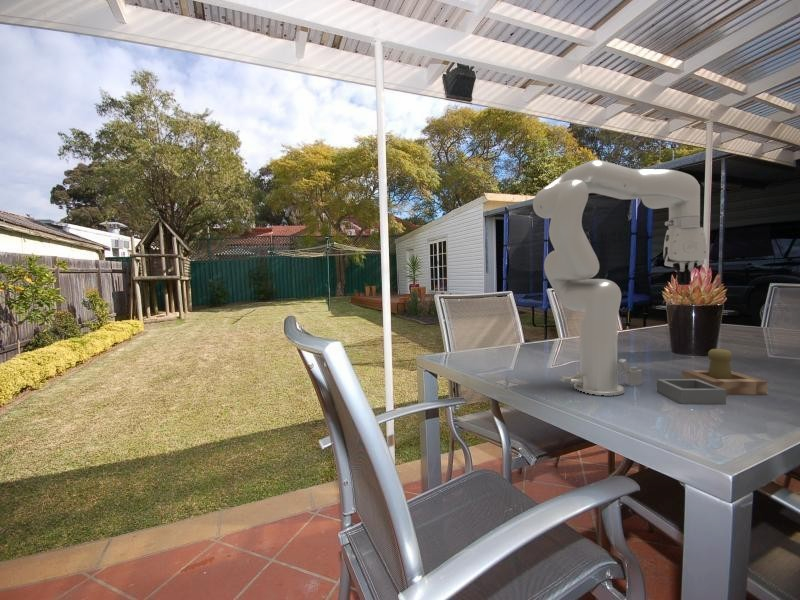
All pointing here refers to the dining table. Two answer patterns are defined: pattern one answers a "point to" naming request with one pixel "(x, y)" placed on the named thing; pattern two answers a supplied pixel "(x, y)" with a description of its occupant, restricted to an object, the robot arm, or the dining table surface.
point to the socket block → (730, 382)
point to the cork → (720, 364)
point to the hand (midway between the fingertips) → (683, 284)
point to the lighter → (631, 373)
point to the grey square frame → (691, 391)
